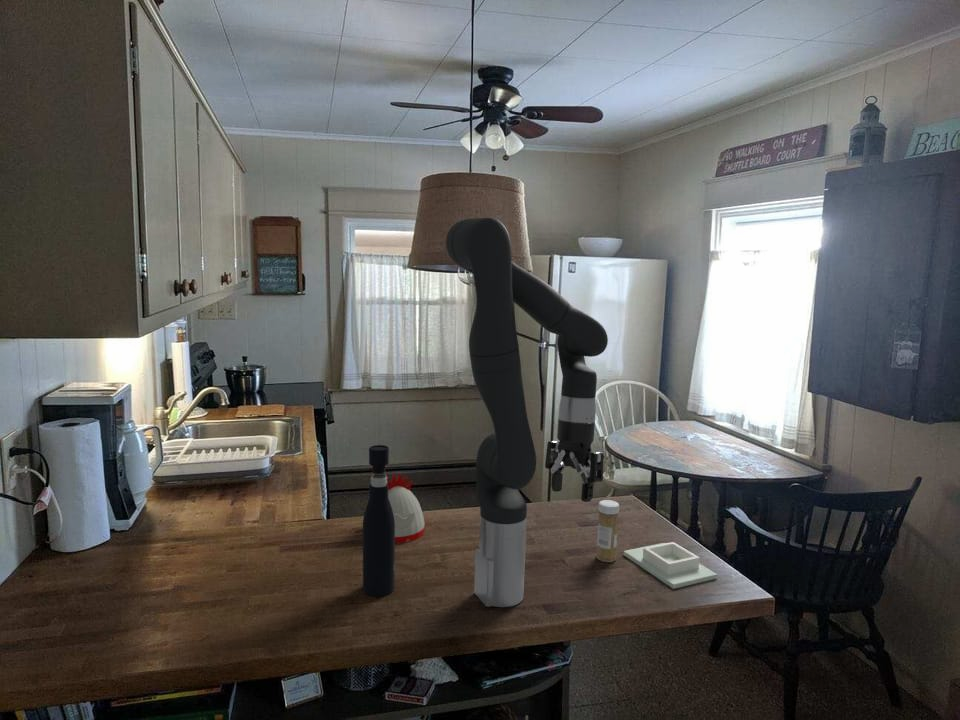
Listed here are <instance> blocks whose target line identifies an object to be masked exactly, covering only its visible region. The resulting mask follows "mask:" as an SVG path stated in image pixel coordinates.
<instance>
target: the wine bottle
mask: <svg viewBox="0 0 960 720" xmlns="http://www.w3.org/2000/svg"><path fill="white" fill-rule="evenodd" d="M389 448H390V447H389V446H387V445H382V444H377V445H375V444H374V445H372V446H369V448H368V464H369V465H370V466H371V467H372V471H371V473H372V475H371V476H370V484H369V487H368V488H369V495H368V497H369V498H368V501H367V504H366V506H365V511H364V514H363V520H362V590H363V591H362V592H363V593H364V594H365V595H367V596H371V597H385V596H388V595H390V594H391V593H393V592H394V591H395V566H396V565H395V564H396V563H395V561H396V560H395V559H396V557H395V555H396V553H395V551H396V550H395V548H396V547H395V546H396V543H395V521H394V515H393V510H392V507H391V504H390V501H389V498H388V484H387V477H388V476H387V477H386V475H387V474H386V473H387V472H386V466H388V465H389V463H390V462H389V458H390V455H389V453H390V451H389Z"/></svg>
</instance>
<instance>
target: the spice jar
mask: <svg viewBox="0 0 960 720" xmlns="http://www.w3.org/2000/svg"><path fill="white" fill-rule="evenodd" d="M619 512H620V504H619V502H617V501H615V500H611V499H604V500H600V501H599V502H598V523H597V524H598V525H597V538H596V539H597V543H596V544H597V549H596V556H595V557H596V559H597V560H598V561H600V562H603V563H613V562H615V561H616V560H617V556H616V554H617V543H618V519H619Z"/></svg>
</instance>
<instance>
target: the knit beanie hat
mask: <svg viewBox="0 0 960 720" xmlns="http://www.w3.org/2000/svg"><path fill="white" fill-rule="evenodd" d="M385 475H386V477H387V484H388V498H389V501H390V504H391V507H392V510H393V515H394V521H395V544H403V543H409V542H413V541H415V540H418V539H420V538H421V537H422V536H423V535H424V534H425V518H424V513H423V510H422V508H421V505H420V502H419V500H418V498H417V497H416V496H415V495H414V494H413V492H412V491H411V488H412V485H413V480H410V481H409V483H408V484H407V481H408V477H407V476H406V475H405V476H404V478H403V479H402V474H401V472H399V473H398V475H397V478H396V475H395V473H393V474H392V478H391V481H390V480H389V477H388V475H387V474H385ZM396 479H397V480H396ZM406 484H407V485H406Z"/></svg>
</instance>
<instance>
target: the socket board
mask: <svg viewBox="0 0 960 720" xmlns="http://www.w3.org/2000/svg"><path fill="white" fill-rule="evenodd" d="M623 556H625V557H626V558H627V559H629V560H630V561H632V562H633V563H635V564H636V565H638V566H639V567H641V568H642V569H643V570H645V571H646V572H647V573H650V574H651V576H654V578H655V577H656V578H657V579H658V580H659V581H662V583H664V584H665V585H667V586H668V587H670V588H671V589H672V590H674V589H679V588H684V587H687V586H690V585H691V586H692V585H696V584H699V583H704V582H709V581H712V580H716V579H718V573H716V572H714V571H712V570H711V569H709V568H707V567H706V566H704V565H703V564H701V563H700V559H701V558H700V556H698V555H696V554H695V553H692V552H691V551H690V550H687V549H686V548H684V547H682V546H681V545H680V544H677V543H676V542H674V541H671V542H667V543H666V542H660V543H656V544H651V545H646V546H641V547H637V548H632V549H628V550H623Z"/></svg>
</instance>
